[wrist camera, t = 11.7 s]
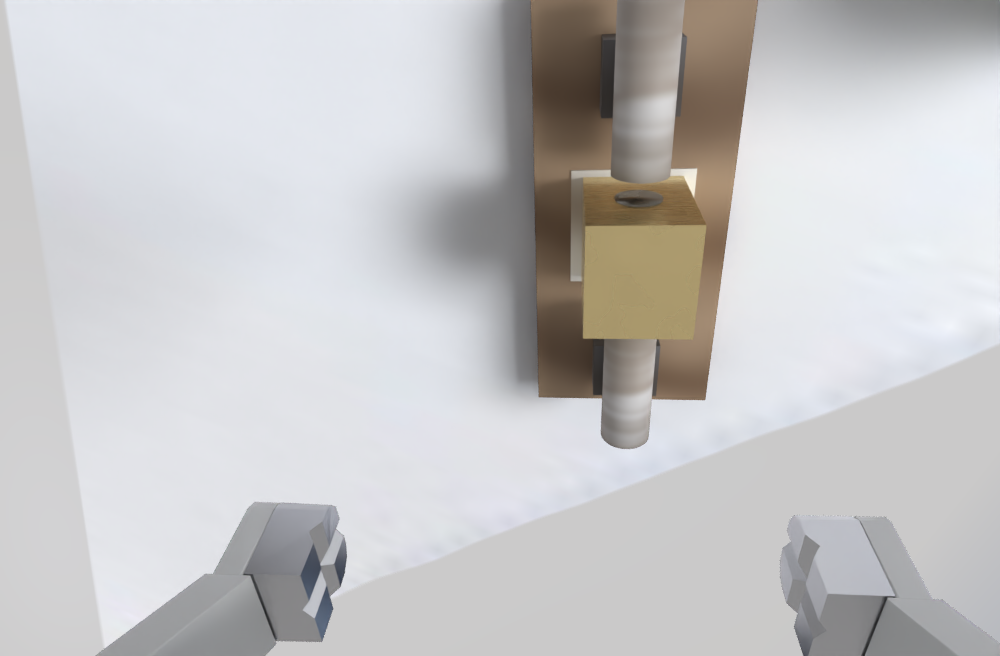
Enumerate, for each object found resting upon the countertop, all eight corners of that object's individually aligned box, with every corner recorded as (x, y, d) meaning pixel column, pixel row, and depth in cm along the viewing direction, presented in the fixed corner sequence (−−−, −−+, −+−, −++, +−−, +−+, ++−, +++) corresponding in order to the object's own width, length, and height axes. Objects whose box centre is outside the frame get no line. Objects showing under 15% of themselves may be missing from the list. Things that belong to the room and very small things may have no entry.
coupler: (583, 176, 31) (585, 224, 26) (683, 174, 30) (706, 223, 25) (581, 276, 33) (582, 339, 28) (674, 276, 33) (693, 340, 28)
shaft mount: (532, -6, 29) (524, 6, 24) (750, -16, 28) (789, -5, 23) (539, 381, 39) (535, 446, 34) (700, 384, 38) (719, 451, 33)
